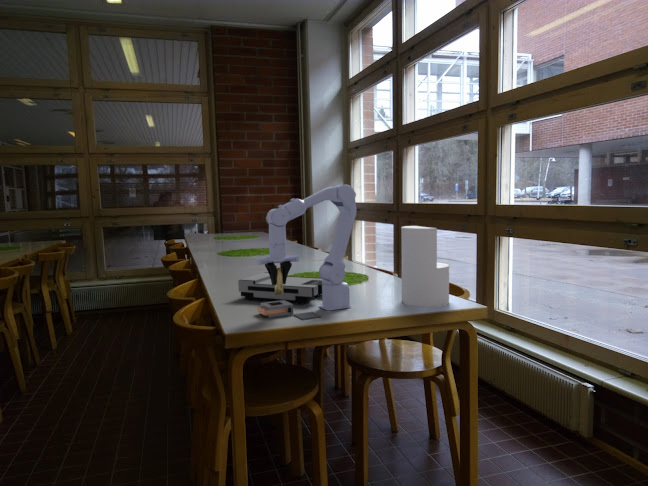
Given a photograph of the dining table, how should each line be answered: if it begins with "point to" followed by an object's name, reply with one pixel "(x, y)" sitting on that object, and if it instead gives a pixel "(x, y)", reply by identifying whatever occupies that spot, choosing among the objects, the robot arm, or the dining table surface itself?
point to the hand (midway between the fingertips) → (278, 284)
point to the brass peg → (279, 281)
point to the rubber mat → (307, 315)
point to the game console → (294, 289)
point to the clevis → (276, 308)
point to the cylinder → (423, 268)
